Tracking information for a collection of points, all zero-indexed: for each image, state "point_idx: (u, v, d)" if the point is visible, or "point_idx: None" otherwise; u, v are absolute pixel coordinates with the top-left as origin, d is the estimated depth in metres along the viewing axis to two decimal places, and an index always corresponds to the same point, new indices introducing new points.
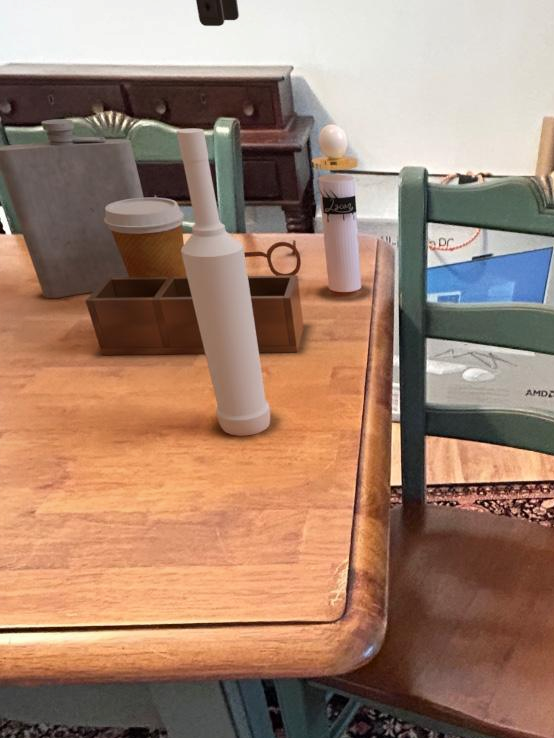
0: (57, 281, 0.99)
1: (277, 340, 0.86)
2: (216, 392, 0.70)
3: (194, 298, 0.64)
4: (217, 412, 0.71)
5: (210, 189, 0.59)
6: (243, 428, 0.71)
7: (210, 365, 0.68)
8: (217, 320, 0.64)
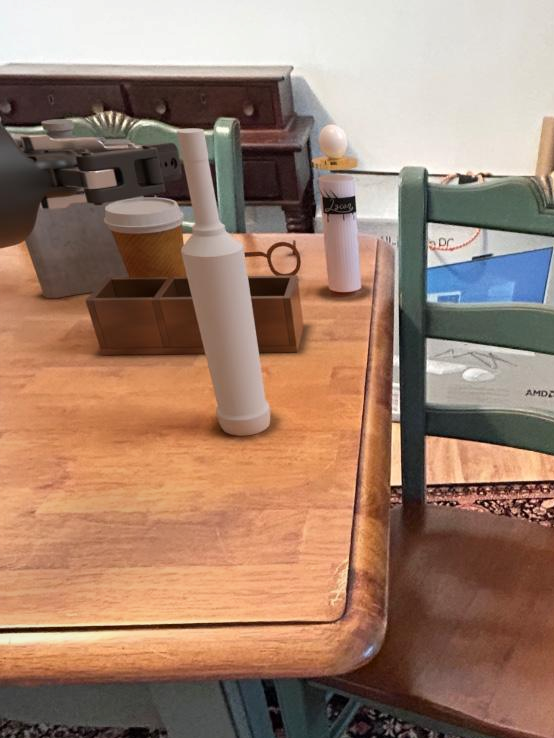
0: (57, 281, 0.99)
1: (277, 340, 0.86)
2: (216, 392, 0.70)
3: (194, 298, 0.64)
4: (217, 412, 0.71)
5: (210, 189, 0.59)
6: (243, 428, 0.71)
7: (210, 365, 0.68)
8: (217, 320, 0.64)
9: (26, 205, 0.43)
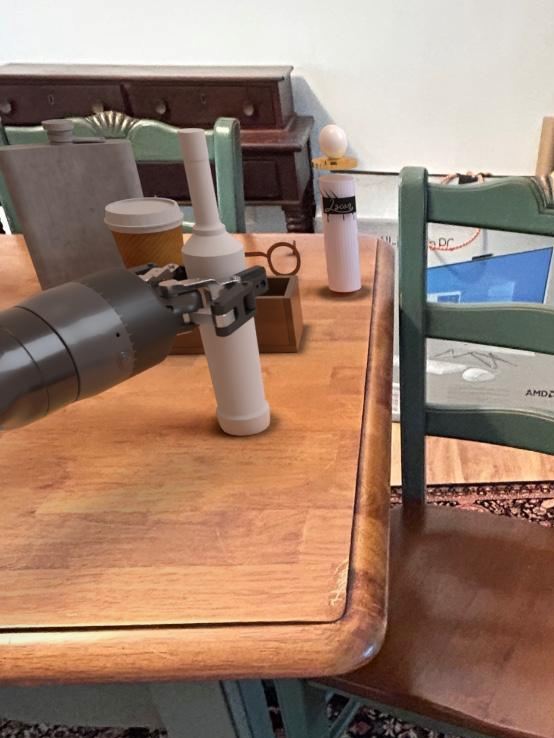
0: (57, 281, 0.99)
1: (277, 340, 0.86)
2: (216, 392, 0.70)
3: None
4: (217, 412, 0.71)
5: (210, 189, 0.59)
6: (243, 428, 0.71)
7: (210, 365, 0.68)
8: None
9: (165, 344, 0.57)
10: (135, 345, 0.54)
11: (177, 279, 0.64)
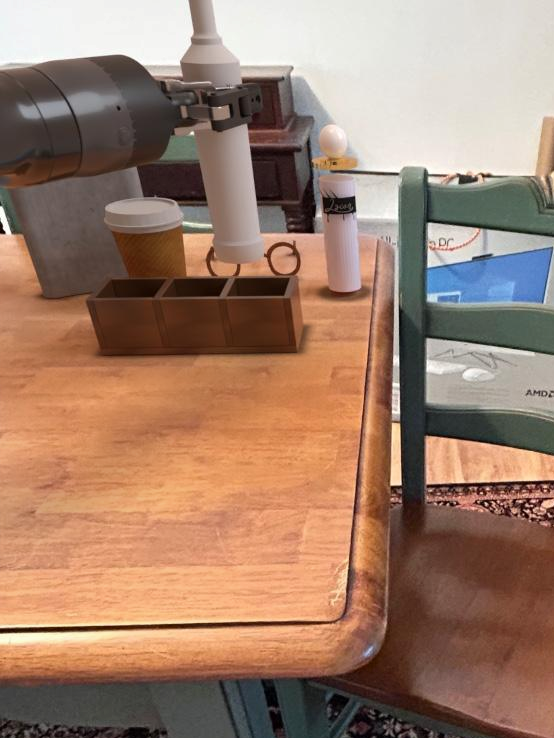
0: (57, 281, 0.99)
1: (277, 340, 0.86)
2: (212, 217, 0.72)
3: None
4: (213, 240, 0.74)
5: None
6: (238, 255, 0.74)
7: (207, 187, 0.71)
8: (213, 134, 0.67)
9: (163, 133, 0.60)
10: (135, 124, 0.57)
11: None
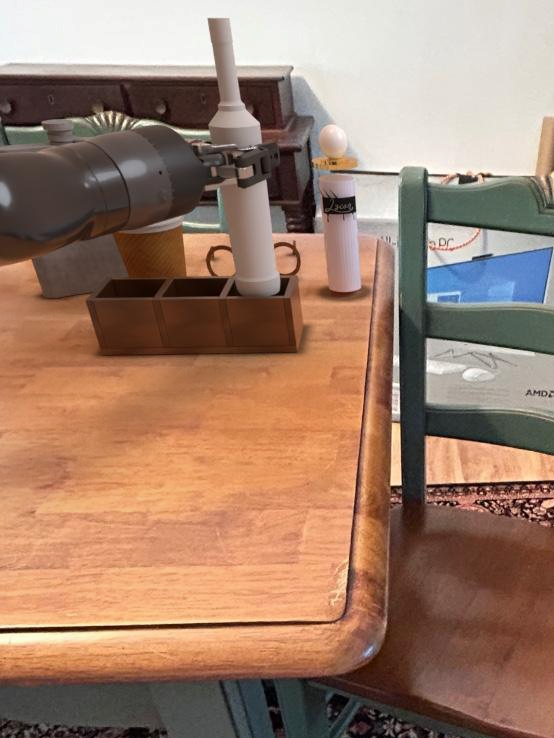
0: (57, 281, 0.99)
1: (277, 340, 0.86)
2: (235, 257, 0.82)
3: None
4: (235, 277, 0.84)
5: (234, 70, 0.72)
6: (257, 290, 0.83)
7: (230, 231, 0.80)
8: (237, 186, 0.77)
9: (196, 190, 0.69)
10: (173, 185, 0.66)
11: None
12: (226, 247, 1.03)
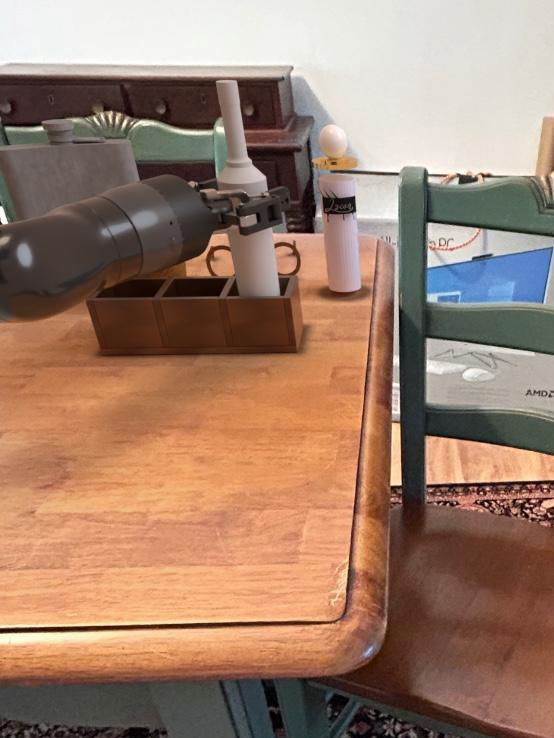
0: None
1: (277, 340, 0.86)
2: None
3: None
4: None
5: (241, 129, 0.75)
6: None
7: (238, 278, 0.83)
8: (244, 238, 0.80)
9: (205, 236, 0.72)
10: (183, 233, 0.69)
11: None
12: (226, 247, 1.03)
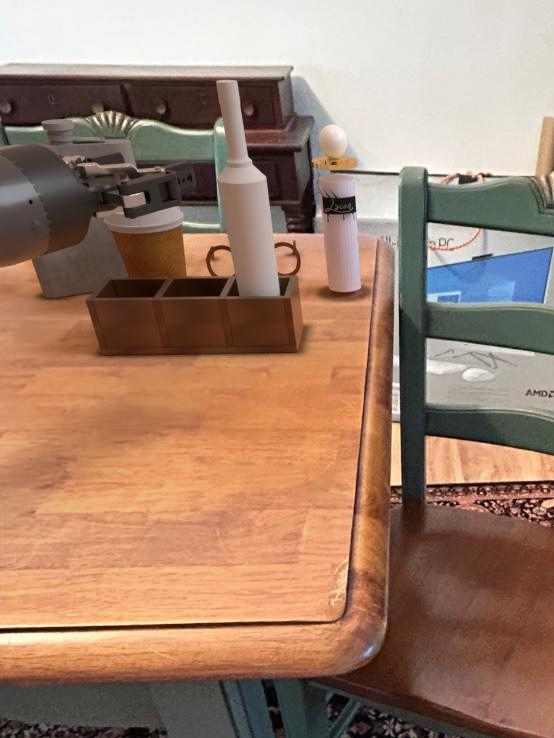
0: (57, 281, 0.99)
1: (277, 340, 0.86)
2: None
3: (226, 219, 0.80)
4: None
5: (241, 129, 0.75)
6: None
7: (238, 278, 0.83)
8: (244, 238, 0.80)
9: (81, 219, 0.60)
10: (49, 215, 0.57)
11: None
12: (226, 247, 1.03)
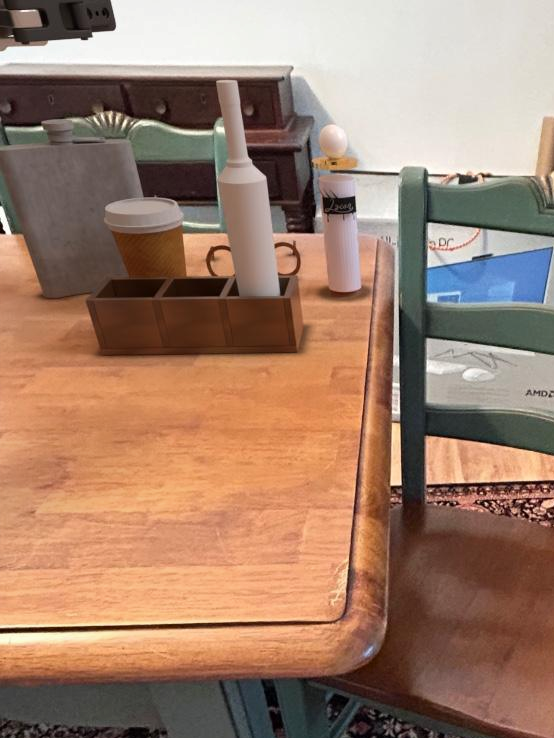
0: (57, 281, 0.99)
1: (277, 340, 0.86)
2: None
3: (226, 219, 0.80)
4: None
5: (241, 129, 0.75)
6: None
7: (238, 278, 0.83)
8: (244, 238, 0.80)
9: None
10: None
11: None
12: (226, 247, 1.03)
